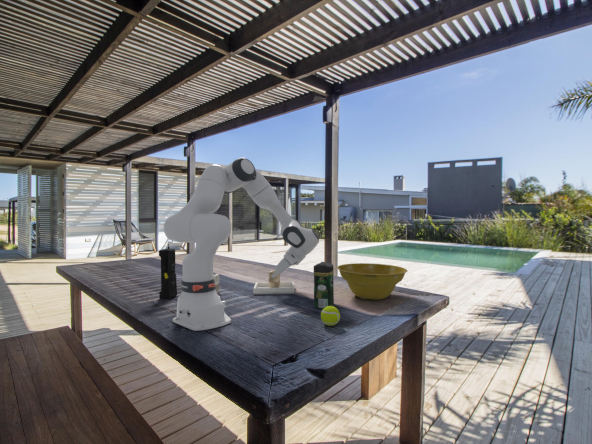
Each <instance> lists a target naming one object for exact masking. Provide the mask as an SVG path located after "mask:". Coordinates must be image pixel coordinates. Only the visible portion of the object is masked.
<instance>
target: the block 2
mask: <svg viewBox="0 0 592 444" xmlns="http://www.w3.org/2000/svg"><path fill="white" fill-rule="evenodd" d="M274 272H275V270H270V271H269V272H268V282H269V288H277V287H280V282H281V274H278V275H277V276H276V277H274V278H272V277H271V275H272V274H273V273H274Z"/></svg>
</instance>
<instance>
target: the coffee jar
mask: <svg viewBox="0 0 592 444" xmlns="http://www.w3.org/2000/svg"><path fill="white" fill-rule="evenodd" d="M334 270H335V269H334V264H333V263H331V261H321V262H319V263H316V264H315V265H313V307H314V308H316V309H319V310H323V309H324V308H325V307H327V306H334V304H335V299H334V298H335V296H334V295H335V294H334V292H335V291H334V288H335V287H334V286H335V285H334V272H335V271H334Z"/></svg>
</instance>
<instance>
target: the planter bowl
mask: <svg viewBox="0 0 592 444" xmlns="http://www.w3.org/2000/svg"><path fill="white" fill-rule="evenodd" d="M336 269H337V270H338V272H339V274H340V277H341V278H342V279H343V280H345V281H346V282H347V285H348V287H349V289H350V291H351V293H352V294H354V295H355V296H356V297H358V298H360V299H364V300H365V299H366V300H383V299H386V298H388V297H389V296H390V295H391V294H393V292H394V289H395V288H396V285H397V284H399V283H401V281H402V280H403V279H404V277H405V274H406V273H407V272H408V270H407V269H408V268H406V267H405V268H404V267H402V266H398V265H393V264H383V263H369V262H367V263H365V262H364V263H361V262H360V263H346V264H345V263H344V264H340V265H338V266H336Z"/></svg>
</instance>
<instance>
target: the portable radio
mask: <svg viewBox="0 0 592 444" xmlns="http://www.w3.org/2000/svg"><path fill="white" fill-rule="evenodd" d="M158 256H159V257H160V291H159V293H158V294H159V295H158V296H159V299H161V300H171V299H173V298H175V297H176V296H177V295H178V289H177V288H178V287H177V285H178V284H177V273H176V249H175V248H170V244H169V243H167V248H163V249H159V250H158Z"/></svg>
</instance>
